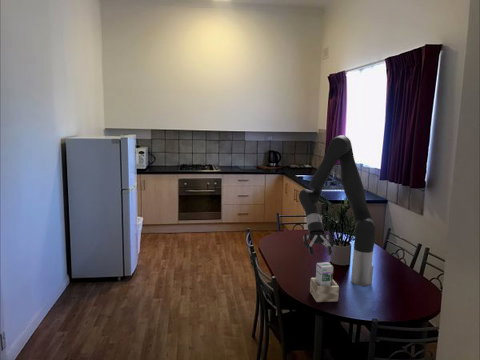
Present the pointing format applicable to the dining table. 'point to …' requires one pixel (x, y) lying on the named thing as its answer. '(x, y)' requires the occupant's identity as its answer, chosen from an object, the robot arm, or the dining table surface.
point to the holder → (324, 291)
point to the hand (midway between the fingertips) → (321, 255)
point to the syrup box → (324, 274)
